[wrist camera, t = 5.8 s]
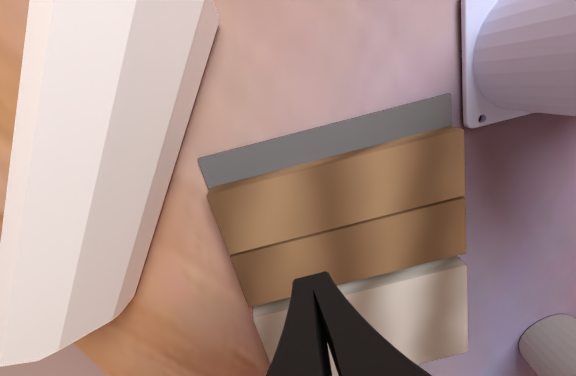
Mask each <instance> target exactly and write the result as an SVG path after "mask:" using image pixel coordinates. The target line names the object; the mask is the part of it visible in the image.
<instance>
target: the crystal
mask: <svg viewBox="0 0 576 376" xmlns="http://www.w3.org/2000/svg"><path fill="white" fill-rule="evenodd" d="M219 21H220V18H219V15H218V12H217V10H216V7H215V4H214V1H213V0H30V2H29V11H28V19H27V27H26V36H25V44H24V52H23V61H22V69H21V77H20V86H19V94H18V102H17V111H16V119H15V127H14V135H13V144H12V152H11V160H10V169H9V177H8V185H7V194H6V202H5V210H4V219H3V227H2V235H1V243H0V366H7V365H14V364H21V363H27V362H34V361H39V360H41V359H43V358H45V357H47V356H49V355H51V354H53V353H55V352H57V351H59V350H61V349H63V348H64V347H66V346H68V345H70V344H71V343H73V342H75V341H77V340H78V339H80V338H82V337H84V336H86V335H87V334H89V333H91V332H93V331H94V330H96V329H98V328H100V327H101V326H103V325H105V324H107V323H108V322H110V321H112V320H113V319H115V318H116V317H117V316H119V315H120V314H121V312H122V311H123V310H124V309H125V307H126V306H127V305H128V303H129V302H130V301H131V300H132V298H133V297H134V295H135V292H136V289H137V286H138V282H139V279H140V276H141V273H142V270H143V266H144V263H145V260H146V257H147V253H148V250H149V247H150V244H151V241H152V237H153V234H154V231H155V228H156V224H157V221H158V218H159V215H160V211H161V208H162V205H163V202H164V199H165V195H166V192H167V189H168V186H169V182H170V179H171V176H172V173H173V170H174V166H175V163H176V160H177V157H178V153H179V150H180V147H181V144H182V140H183V137H184V134H185V131H186V128H187V124H188V121H189V118H190V115H191V111H192V108H193V105H194V102H195V99H196V95H197V92H198V89H199V86H200V82H201V79H202V76H203V73H204V69H205V66H206V63H207V60H208V57H209V53H210V50H211V47H212V44H213V40H214V37H215V34H216V31H217V28H218V24H219Z"/></svg>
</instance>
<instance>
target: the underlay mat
mask: <svg viewBox="0 0 576 376" xmlns="http://www.w3.org/2000/svg"><path fill="white" fill-rule="evenodd" d="M447 126H451V127H452V118H451V94H444V95H440V96H436V97H432V98H428V99H425V100H421V101H417V102H413V103H409V104H405V105H401V106H398V107H394V108H390V109H386V110H382V111H378V112H374V113H371V114H367V115H363V116H359V117H355V118H351V119H347V120H344V121H340V122H336V123H332V124H328V125H324V126H320V127H317V128H313V129H309V130H305V131H301V132H297V133H294V134H290V135H286V136H282V137H278V138H274V139H270V140H267V141H263V142H259V143H255V144H251V145H247V146H243V147H240V148H236V149H232V150H228V151H224V152H220V153H216V154H213V155H209V156H205V157H201V158H198V162H199V165H200V167H201V170H202V173H203V175H204V178H205V181H206V183H207V186H208V189H209V190H210V188H211V187H214V186H217V185H221V184H225V183H229V182H233V181H237V180H241V179H245V178H248V177H252V176H256V175H260V174H264V173H268V172H272V171H276V170H280V169H283V168H287V167H291V166H295V165H299V164H303V163H307V162H311V161H315V160H318V159H322V158H326V157H330V156H334V155H338V154H342V153H346V152H349V151H353V150H357V149H361V148H365V147H369V146H373V145H377V144H381V143H384V142H388V141H392V140H396V139H400V138H404V137H408V136H412V135H416V134H419V133H423V132H427V131H431V130H435V129H439V128H443V127H447ZM253 307H254V306H253Z"/></svg>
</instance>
